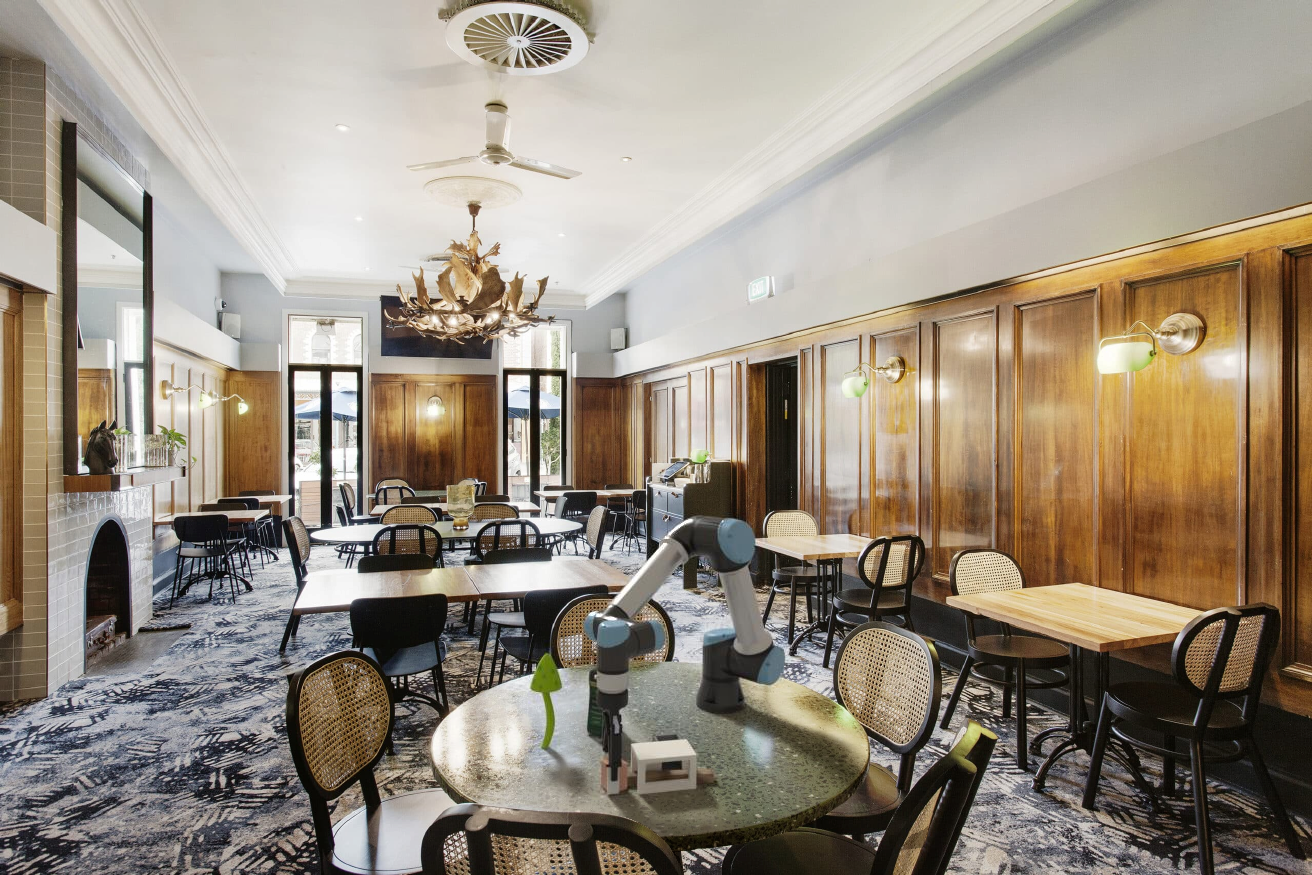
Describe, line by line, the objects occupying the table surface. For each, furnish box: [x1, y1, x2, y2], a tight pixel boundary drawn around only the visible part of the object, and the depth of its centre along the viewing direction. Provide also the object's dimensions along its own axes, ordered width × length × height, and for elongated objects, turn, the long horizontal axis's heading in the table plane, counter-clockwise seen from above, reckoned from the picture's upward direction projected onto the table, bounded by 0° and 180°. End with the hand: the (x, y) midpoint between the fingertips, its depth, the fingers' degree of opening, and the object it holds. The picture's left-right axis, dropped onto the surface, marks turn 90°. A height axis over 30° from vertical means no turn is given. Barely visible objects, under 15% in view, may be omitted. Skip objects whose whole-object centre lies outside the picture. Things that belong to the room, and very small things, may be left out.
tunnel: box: [630, 732, 698, 795], centre depth 173 cm, size 14×15×8 cm
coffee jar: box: [586, 666, 602, 738], centre depth 199 cm, size 10×8×19 cm
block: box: [600, 759, 629, 792], centre depth 167 cm, size 4×4×6 cm
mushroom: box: [529, 652, 563, 750], centre depth 188 cm, size 8×8×25 cm
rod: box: [627, 768, 715, 787], centre depth 171 cm, size 22×2×2 cm, turn 97°
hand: (610, 786), depth 167 cm, fingers open, 6 cm apart
